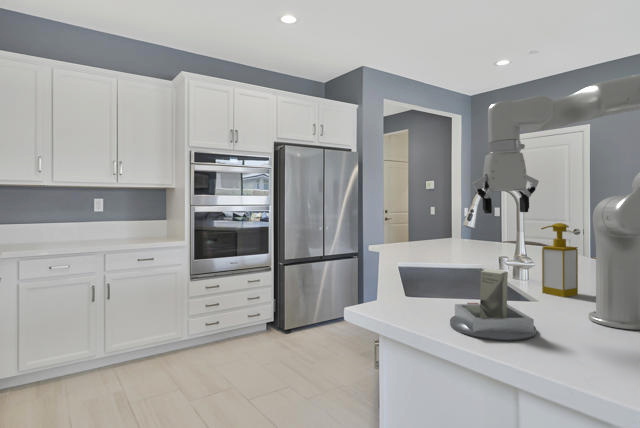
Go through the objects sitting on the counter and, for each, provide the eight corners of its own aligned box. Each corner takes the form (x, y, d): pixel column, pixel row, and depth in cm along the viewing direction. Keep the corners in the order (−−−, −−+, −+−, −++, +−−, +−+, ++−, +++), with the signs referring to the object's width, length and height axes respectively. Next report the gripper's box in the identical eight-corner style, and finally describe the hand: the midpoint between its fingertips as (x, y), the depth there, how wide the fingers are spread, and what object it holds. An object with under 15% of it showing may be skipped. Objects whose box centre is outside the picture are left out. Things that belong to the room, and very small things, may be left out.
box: (479, 323, 93) (478, 270, 92) (486, 319, 96) (486, 268, 95) (501, 328, 89) (501, 273, 89) (508, 323, 92) (508, 270, 92)
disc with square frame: (507, 312, 105) (507, 298, 105) (553, 341, 82) (553, 323, 82) (437, 312, 106) (437, 298, 106) (464, 341, 83) (464, 323, 83)
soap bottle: (531, 294, 126) (531, 223, 125) (556, 290, 131) (555, 222, 130) (552, 299, 119) (552, 224, 119) (577, 294, 124) (577, 222, 124)
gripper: (528, 150, 106) (530, 211, 106) (466, 152, 106) (468, 213, 106) (544, 145, 98) (546, 211, 98) (477, 147, 98) (479, 214, 98)
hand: (505, 212), depth 102 cm, fingers open, 9 cm apart
